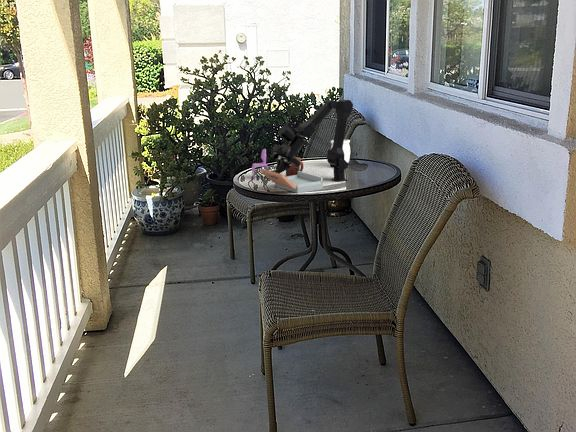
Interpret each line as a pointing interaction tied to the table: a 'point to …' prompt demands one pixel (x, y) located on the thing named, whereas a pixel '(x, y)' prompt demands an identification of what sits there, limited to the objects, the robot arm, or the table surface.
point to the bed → (304, 182)
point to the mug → (294, 169)
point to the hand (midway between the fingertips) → (275, 174)
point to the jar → (345, 149)
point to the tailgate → (278, 178)
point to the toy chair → (260, 163)
